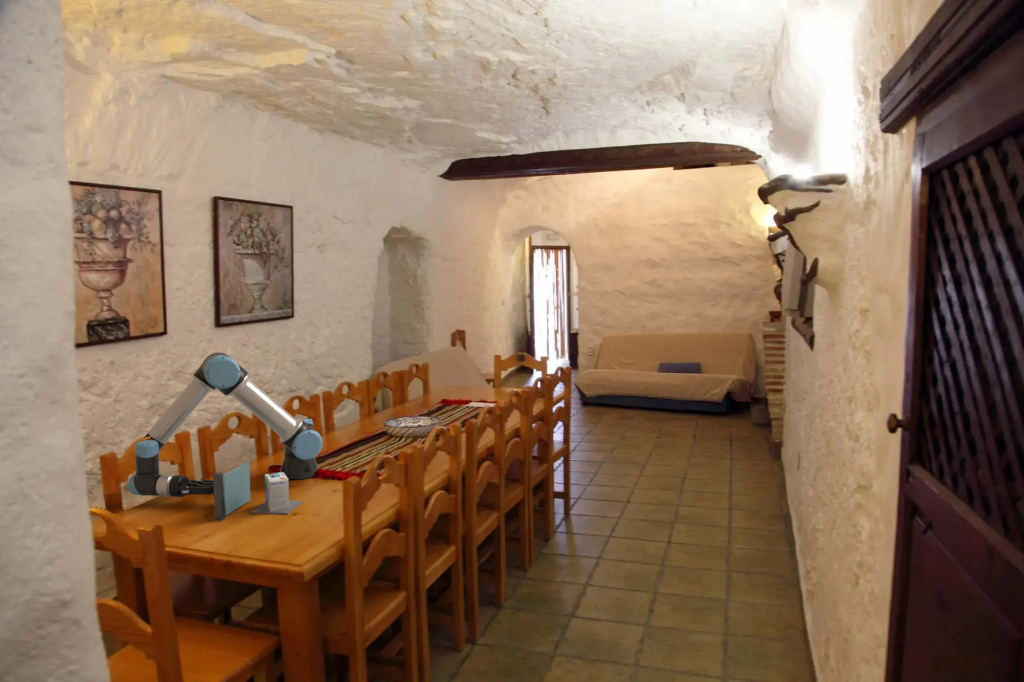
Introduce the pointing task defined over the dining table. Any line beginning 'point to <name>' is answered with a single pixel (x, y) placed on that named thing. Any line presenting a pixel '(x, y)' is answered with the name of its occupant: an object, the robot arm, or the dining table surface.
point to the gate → (236, 487)
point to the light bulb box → (276, 491)
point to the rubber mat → (264, 509)
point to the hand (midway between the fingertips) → (236, 488)
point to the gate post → (219, 496)
